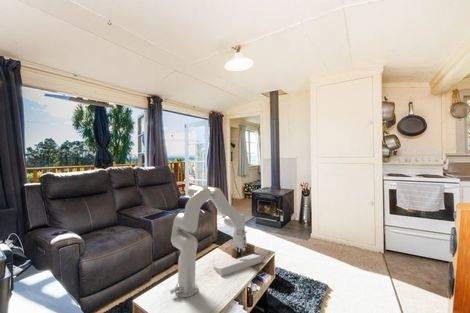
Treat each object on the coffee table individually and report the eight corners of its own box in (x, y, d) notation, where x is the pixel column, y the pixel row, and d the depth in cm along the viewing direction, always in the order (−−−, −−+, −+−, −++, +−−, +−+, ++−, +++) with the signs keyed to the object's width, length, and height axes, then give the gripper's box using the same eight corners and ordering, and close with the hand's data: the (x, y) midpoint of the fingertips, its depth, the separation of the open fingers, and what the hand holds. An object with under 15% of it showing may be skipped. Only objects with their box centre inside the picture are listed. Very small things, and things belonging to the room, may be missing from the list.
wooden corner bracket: (240, 260, 156) (240, 252, 156) (232, 256, 161) (232, 249, 161) (254, 252, 169) (254, 245, 169) (245, 249, 174) (246, 242, 174)
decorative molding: (214, 274, 143) (221, 277, 135) (213, 266, 144) (220, 268, 136) (253, 260, 162) (261, 262, 154) (252, 254, 163) (260, 255, 155)
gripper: (250, 232, 150) (250, 258, 150) (235, 227, 160) (234, 251, 160) (244, 235, 144) (243, 262, 145) (228, 230, 154) (227, 255, 154)
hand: (238, 256), depth 152 cm, fingers closed
